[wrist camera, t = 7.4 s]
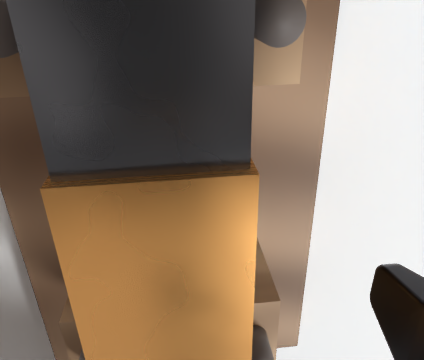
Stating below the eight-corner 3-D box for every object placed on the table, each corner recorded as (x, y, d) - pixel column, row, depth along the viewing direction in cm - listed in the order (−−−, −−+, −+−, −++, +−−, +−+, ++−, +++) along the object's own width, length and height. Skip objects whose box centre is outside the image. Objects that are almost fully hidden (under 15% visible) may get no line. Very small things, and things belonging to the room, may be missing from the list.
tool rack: (291, 330, 20) (338, 457, 15) (64, 354, 19) (23, 501, 13) (354, -239, 10) (583, -522, 4) (-120, -255, 9) (-577, -651, 3)
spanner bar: (226, 376, 13) (245, 500, 10) (137, 386, 13) (127, 517, 10) (224, -100, 7) (274, -181, 4) (50, -100, 7) (-61, -186, 3)
